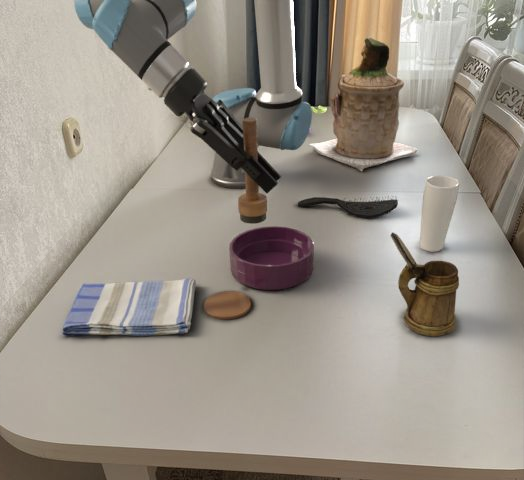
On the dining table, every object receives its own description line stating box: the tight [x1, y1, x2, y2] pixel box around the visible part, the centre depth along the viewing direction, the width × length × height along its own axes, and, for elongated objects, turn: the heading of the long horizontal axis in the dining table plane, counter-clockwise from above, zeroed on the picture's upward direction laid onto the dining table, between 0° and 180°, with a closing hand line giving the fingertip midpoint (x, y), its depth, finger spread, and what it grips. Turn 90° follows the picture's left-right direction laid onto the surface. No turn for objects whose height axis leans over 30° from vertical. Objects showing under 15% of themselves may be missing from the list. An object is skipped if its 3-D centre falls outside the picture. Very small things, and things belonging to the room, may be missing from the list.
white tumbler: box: [418, 175, 460, 253], centre depth 117 cm, size 7×7×15 cm
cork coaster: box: [203, 290, 252, 321], centre depth 105 cm, size 9×9×1 cm
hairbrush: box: [297, 195, 399, 219], centre depth 137 cm, size 8×4×25 cm
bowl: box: [228, 225, 315, 291], centre depth 114 cm, size 17×17×6 cm
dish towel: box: [62, 278, 197, 337], centre depth 104 cm, size 17×24×3 cm
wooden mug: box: [390, 232, 460, 337], centre depth 94 cm, size 9×14×18 cm, turn 88°
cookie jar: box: [309, 37, 418, 172], centre depth 160 cm, size 25×25×32 cm
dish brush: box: [237, 118, 268, 225], centre depth 99 cm, size 5×5×18 cm
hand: (274, 184), depth 100 cm, fingers closed on dish brush, 2 cm apart
